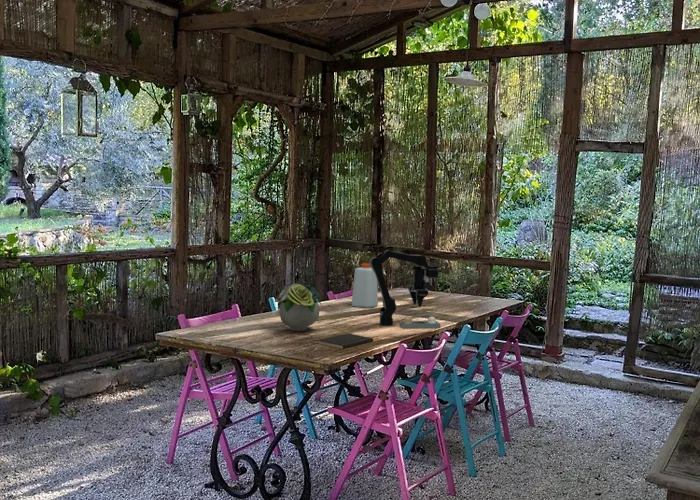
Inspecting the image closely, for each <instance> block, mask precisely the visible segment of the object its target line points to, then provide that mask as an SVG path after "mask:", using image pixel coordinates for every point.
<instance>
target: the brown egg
mask: <svg viewBox="0 0 700 500" xmlns="http://www.w3.org/2000/svg"><path fill="white" fill-rule="evenodd" d="M403 321H404V324H412V321H413V320H412V317H410V316H406V317H404V319H403Z"/></svg>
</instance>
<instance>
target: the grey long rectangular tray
mask: <svg viewBox="0 0 700 500" xmlns="http://www.w3.org/2000/svg"><path fill="white" fill-rule="evenodd" d="M398 326H399V327H400V328H401V329H403V330H406V329H408V330H409V329H410V330H411V329H417V330H418V329H441V322H438V321H436V323H428V320H412V324H404V320H403V321H401V320H400V321H399V322H398Z"/></svg>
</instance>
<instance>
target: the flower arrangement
mask: <svg viewBox="0 0 700 500" xmlns="http://www.w3.org/2000/svg"><path fill="white" fill-rule="evenodd" d="M283 288H284V289H283V290H281V292H280V293H279V295H278V297H277V298H276V299H275V300H274V303H277V312H278V315H279V317H280V321H281V322H283V324H284V325H286V326H288V327H289V328H290V330H291V331H296V332H303V331H307V330H308V328H309V327H310V326H312V325H313V324H315V323H316V322H317V321H318V319H319V316H320V306H319V304H320V305H322V303H321V300H319V299H320V295H319V292H318V291H316V289H315V287H314V286H311V285H309V284H308V285H305V284H303V283H299V282H297V283H293V284H292V283H291V284H290V285H289V286H287V285H284V287H283Z"/></svg>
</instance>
